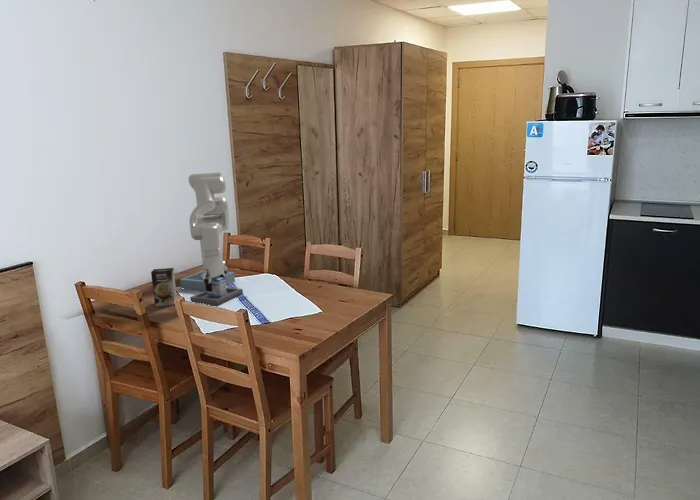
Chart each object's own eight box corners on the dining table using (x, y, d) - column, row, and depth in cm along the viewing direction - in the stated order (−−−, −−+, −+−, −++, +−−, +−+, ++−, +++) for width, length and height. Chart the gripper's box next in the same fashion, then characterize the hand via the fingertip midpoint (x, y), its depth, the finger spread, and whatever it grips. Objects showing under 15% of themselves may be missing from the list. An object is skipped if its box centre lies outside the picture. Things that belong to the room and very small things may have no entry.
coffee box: (154, 306, 243) (150, 272, 239) (157, 302, 249) (153, 268, 246) (175, 304, 244) (171, 270, 241) (177, 300, 251) (173, 267, 247)
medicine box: (207, 296, 251) (205, 278, 249) (213, 293, 255) (211, 276, 253) (221, 297, 248) (219, 279, 246) (227, 295, 252) (225, 277, 250)
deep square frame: (206, 278, 286) (205, 269, 285) (235, 281, 277) (234, 272, 276) (181, 288, 269) (179, 279, 268) (210, 292, 261) (209, 282, 260)
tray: (216, 291, 262) (215, 286, 262) (242, 293, 255) (242, 288, 255) (190, 302, 247) (190, 297, 246) (218, 305, 240) (217, 300, 239)
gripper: (218, 247, 255) (221, 282, 259) (192, 256, 240) (197, 292, 244) (230, 248, 252) (234, 283, 256) (206, 257, 237) (210, 294, 241)
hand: (216, 288), depth 250 cm, fingers open, 9 cm apart
